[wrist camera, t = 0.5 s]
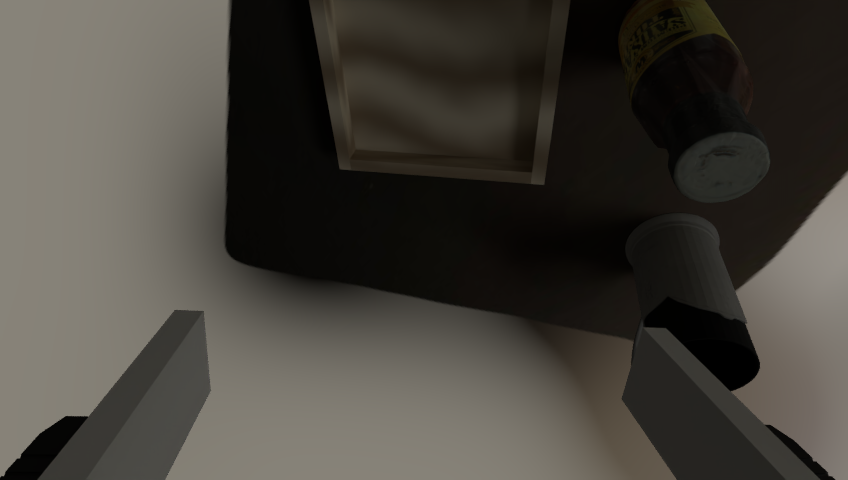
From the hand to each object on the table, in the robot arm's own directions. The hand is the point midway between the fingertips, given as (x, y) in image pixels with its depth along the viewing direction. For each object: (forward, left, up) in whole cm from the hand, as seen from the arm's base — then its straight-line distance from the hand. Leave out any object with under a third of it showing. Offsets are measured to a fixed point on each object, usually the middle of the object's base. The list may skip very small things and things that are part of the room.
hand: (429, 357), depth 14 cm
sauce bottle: (0, +11, -33) cm, 35 cm away
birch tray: (+3, -6, -33) cm, 33 cm away
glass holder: (+24, +17, -33) cm, 44 cm away
